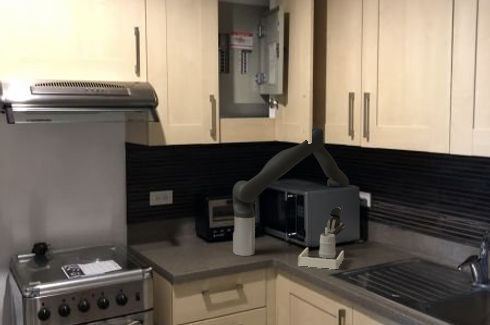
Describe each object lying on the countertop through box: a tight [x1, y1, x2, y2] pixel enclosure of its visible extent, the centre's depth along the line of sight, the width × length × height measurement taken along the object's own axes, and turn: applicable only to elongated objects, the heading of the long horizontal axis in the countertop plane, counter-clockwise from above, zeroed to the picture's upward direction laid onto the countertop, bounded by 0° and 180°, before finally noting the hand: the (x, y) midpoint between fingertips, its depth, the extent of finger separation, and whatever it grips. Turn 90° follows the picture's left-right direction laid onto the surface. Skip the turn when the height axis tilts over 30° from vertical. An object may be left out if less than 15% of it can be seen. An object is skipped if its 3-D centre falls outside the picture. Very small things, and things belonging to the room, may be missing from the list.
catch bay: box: [297, 247, 345, 270], centre depth 232 cm, size 17×17×4 cm
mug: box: [318, 226, 337, 259], centre depth 243 cm, size 8×12×12 cm, turn 178°
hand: (329, 241), depth 249 cm, fingers closed
